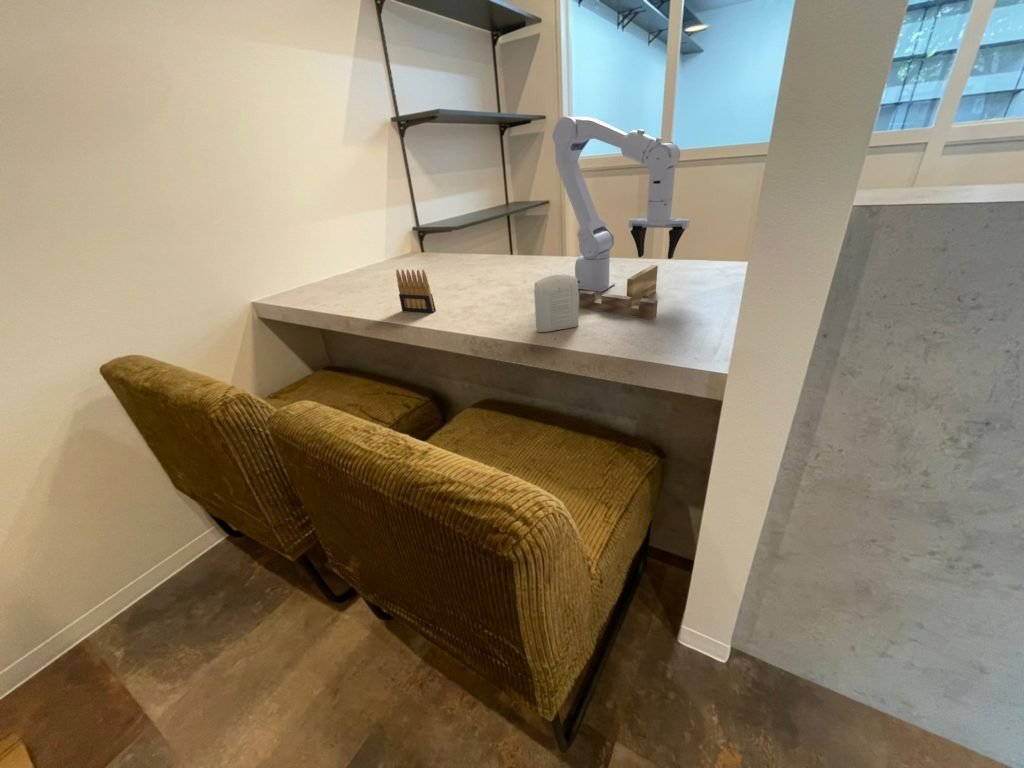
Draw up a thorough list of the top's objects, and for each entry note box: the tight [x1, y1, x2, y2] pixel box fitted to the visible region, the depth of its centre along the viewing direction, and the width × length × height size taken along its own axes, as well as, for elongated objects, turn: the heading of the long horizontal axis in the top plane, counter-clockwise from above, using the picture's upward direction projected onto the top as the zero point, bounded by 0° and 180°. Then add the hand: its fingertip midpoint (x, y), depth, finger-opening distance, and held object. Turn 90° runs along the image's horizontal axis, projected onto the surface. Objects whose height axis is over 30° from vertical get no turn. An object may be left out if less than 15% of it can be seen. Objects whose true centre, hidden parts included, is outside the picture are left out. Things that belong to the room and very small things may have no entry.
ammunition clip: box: [395, 269, 437, 314], centre depth 116 cm, size 11×2×12 cm, turn 65°
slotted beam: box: [578, 289, 659, 321], centre depth 102 cm, size 20×2×4 cm, turn 49°
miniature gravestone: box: [533, 274, 580, 333], centre depth 95 cm, size 10×4×12 cm, turn 103°
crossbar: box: [626, 264, 659, 306], centre depth 108 cm, size 2×14×7 cm, turn 139°
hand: (655, 257), depth 107 cm, fingers open, 7 cm apart
